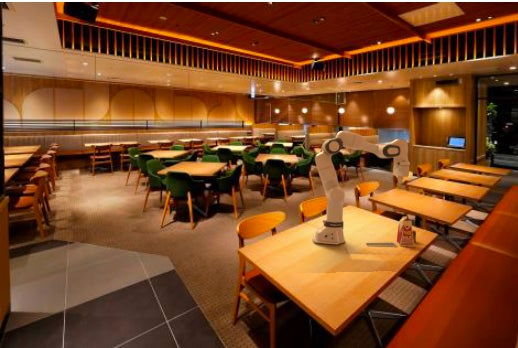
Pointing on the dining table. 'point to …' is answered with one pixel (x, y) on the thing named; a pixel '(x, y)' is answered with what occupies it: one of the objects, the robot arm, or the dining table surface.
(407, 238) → the milk carton
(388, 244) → the strip
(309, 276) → the dining table surface
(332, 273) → the dining table surface
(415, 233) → the walnut block
